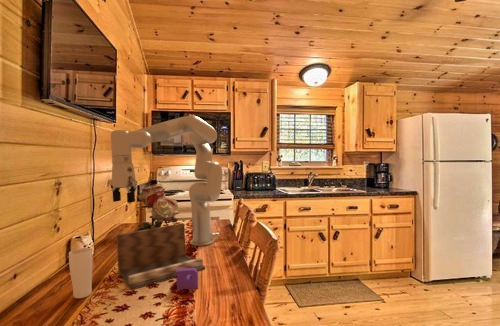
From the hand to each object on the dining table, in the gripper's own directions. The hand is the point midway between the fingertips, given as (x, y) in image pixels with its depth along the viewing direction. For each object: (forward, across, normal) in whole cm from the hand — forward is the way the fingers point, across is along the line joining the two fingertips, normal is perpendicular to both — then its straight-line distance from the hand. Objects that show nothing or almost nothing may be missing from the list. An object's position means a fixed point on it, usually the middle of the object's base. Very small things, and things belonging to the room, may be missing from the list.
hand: (123, 201), depth 122 cm
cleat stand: (+28, -16, -5) cm, 32 cm away
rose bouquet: (+28, +36, -47) cm, 65 cm away
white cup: (+28, -9, +23) cm, 37 cm away
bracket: (+28, -34, -2) cm, 44 cm away
